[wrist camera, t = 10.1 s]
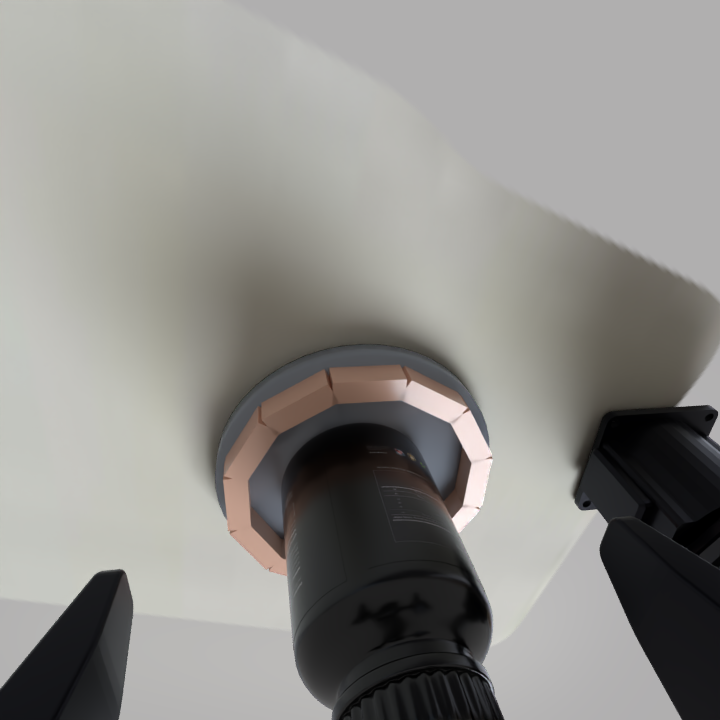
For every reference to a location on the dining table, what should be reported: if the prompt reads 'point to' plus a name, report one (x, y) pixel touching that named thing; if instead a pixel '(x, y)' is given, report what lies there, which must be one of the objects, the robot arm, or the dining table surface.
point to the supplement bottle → (382, 583)
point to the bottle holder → (338, 407)
